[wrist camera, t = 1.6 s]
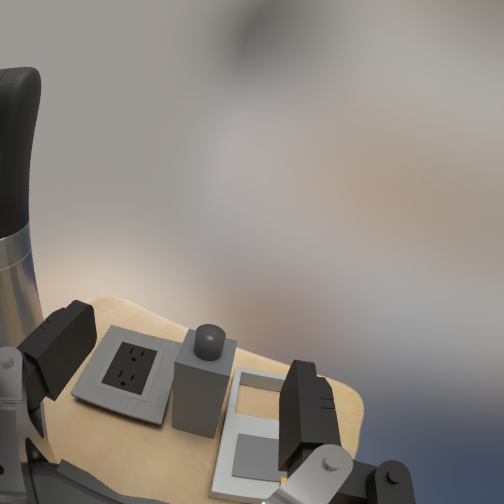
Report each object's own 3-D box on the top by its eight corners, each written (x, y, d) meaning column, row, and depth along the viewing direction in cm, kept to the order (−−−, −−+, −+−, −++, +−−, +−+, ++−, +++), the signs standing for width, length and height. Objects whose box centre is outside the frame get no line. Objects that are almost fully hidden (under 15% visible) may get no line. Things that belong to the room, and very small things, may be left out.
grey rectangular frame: (208, 496, 18) (212, 489, 17) (232, 378, 33) (236, 363, 32) (292, 506, 18) (303, 499, 17) (292, 389, 33) (299, 375, 32)
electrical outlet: (161, 432, 24) (161, 422, 23) (74, 403, 23) (69, 391, 22) (182, 354, 36) (183, 341, 35) (112, 335, 35) (111, 323, 34)
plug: (172, 427, 24) (175, 343, 20) (182, 398, 29) (191, 311, 24) (213, 438, 24) (234, 359, 20) (220, 407, 29) (241, 324, 24)
